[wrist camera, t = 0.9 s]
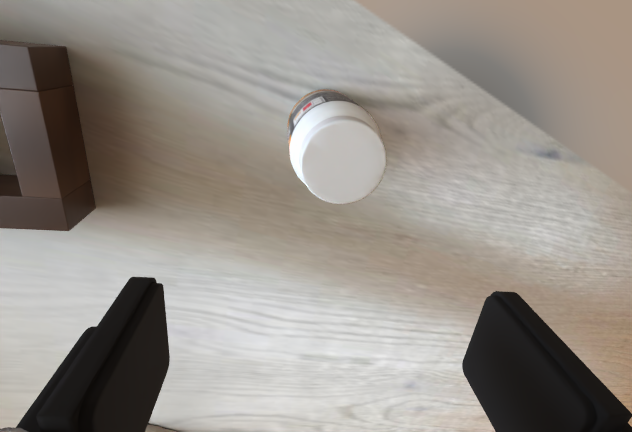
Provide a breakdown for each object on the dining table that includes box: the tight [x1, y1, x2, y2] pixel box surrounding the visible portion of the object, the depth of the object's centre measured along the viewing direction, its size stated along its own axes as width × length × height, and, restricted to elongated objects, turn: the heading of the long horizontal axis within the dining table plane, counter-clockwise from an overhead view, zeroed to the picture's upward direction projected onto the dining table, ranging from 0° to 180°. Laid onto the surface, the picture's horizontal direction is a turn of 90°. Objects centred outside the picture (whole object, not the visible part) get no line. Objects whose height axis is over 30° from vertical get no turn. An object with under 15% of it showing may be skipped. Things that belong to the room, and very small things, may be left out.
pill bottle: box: [288, 89, 387, 204], centre depth 23 cm, size 6×6×10 cm
